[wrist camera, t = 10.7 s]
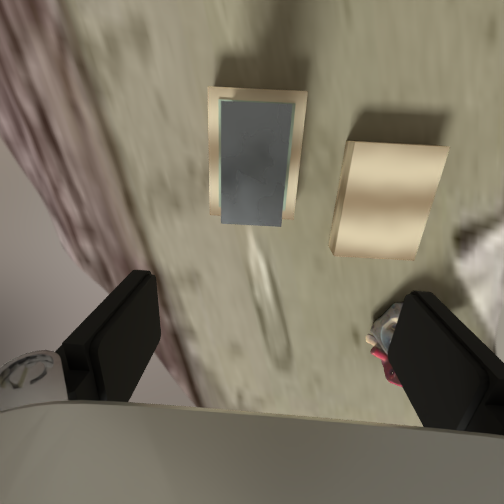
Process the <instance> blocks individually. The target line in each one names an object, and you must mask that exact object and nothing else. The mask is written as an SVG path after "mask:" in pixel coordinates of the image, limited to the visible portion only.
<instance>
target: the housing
mask: <svg viewBox="0 0 504 504" xmlns="http://www.w3.org/2000/svg"><path fill="white" fill-rule="evenodd" d="M291 115H292V104H278V103H257V102H236V101H221V223H222V224H241V225H259V226H277V227H281V223H282V212H283V201H284V190H285V180H286V169H287V158H288V147H289V137H290V126H291Z"/></svg>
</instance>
